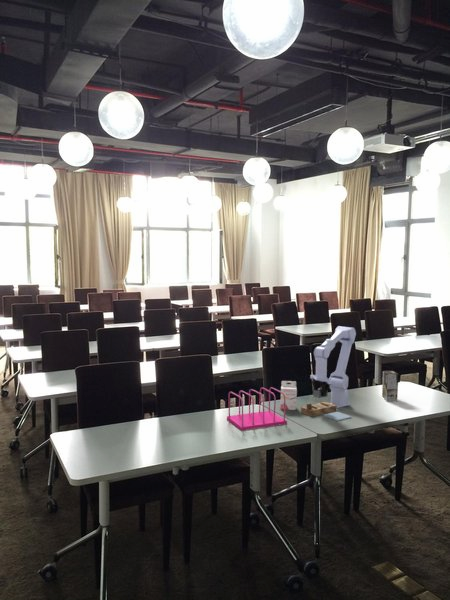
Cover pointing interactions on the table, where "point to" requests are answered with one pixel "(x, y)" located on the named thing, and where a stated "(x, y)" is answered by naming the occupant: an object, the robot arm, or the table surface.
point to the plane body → (318, 408)
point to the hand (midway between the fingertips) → (320, 394)
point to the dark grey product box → (319, 393)
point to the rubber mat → (337, 416)
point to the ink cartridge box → (289, 395)
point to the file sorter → (256, 414)
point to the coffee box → (390, 386)
